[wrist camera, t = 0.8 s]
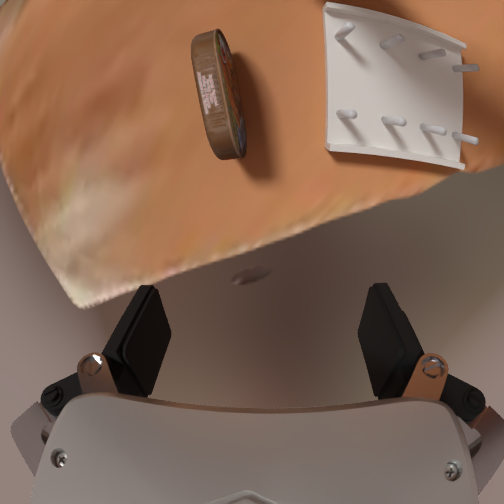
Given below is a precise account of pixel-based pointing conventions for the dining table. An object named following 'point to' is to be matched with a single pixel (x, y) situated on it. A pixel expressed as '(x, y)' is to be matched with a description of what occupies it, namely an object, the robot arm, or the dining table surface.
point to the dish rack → (392, 87)
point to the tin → (219, 95)
